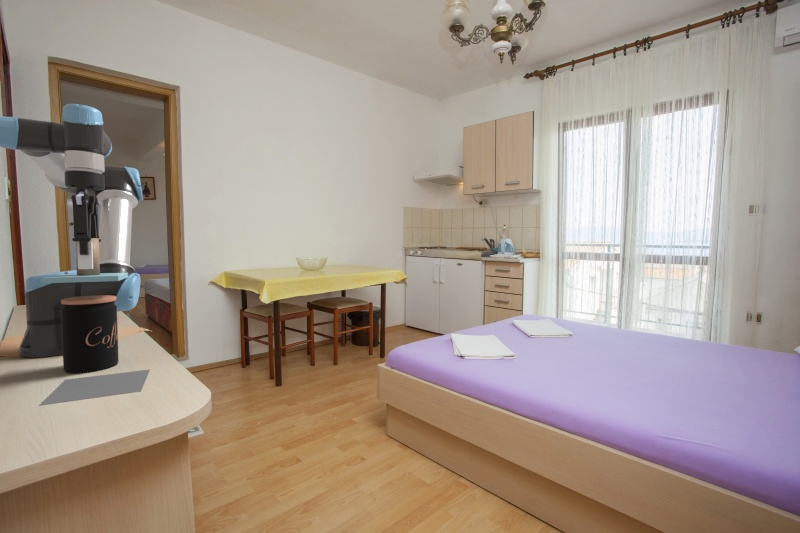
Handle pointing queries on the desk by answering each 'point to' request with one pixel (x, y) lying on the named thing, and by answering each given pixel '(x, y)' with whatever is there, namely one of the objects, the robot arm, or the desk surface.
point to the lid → (86, 271)
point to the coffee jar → (89, 333)
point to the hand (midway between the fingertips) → (88, 268)
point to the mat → (97, 387)
